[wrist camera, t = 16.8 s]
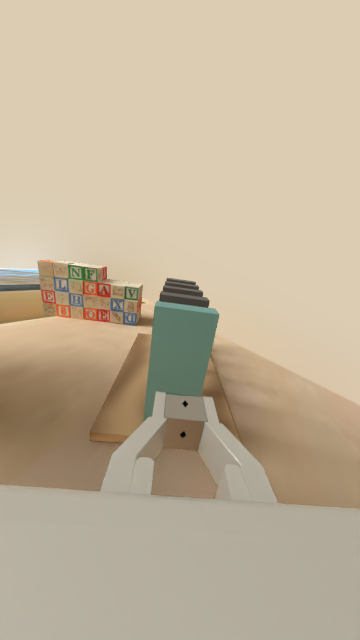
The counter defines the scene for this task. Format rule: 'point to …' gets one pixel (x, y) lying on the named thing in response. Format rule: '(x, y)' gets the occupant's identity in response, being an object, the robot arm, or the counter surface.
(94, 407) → the counter surface
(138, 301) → the stack of blocks
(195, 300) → the domino
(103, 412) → the oak board
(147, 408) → the domino
